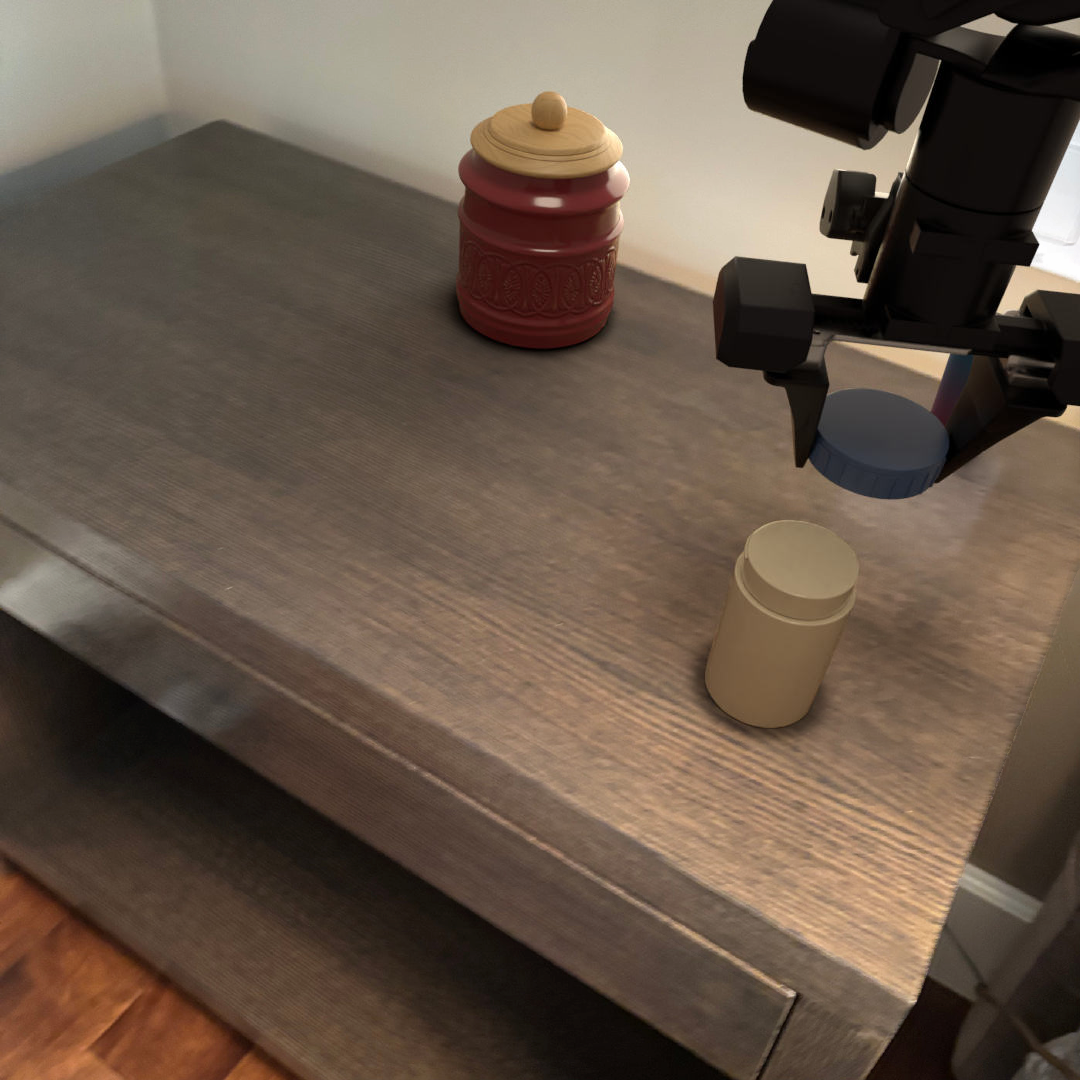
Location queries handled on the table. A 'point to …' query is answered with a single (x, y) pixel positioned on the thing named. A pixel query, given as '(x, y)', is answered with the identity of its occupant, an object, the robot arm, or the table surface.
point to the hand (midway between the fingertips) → (865, 470)
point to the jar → (781, 622)
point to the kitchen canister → (540, 224)
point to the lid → (879, 444)
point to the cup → (951, 385)
